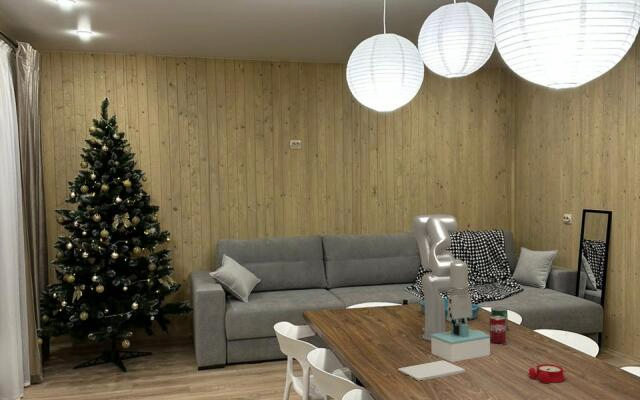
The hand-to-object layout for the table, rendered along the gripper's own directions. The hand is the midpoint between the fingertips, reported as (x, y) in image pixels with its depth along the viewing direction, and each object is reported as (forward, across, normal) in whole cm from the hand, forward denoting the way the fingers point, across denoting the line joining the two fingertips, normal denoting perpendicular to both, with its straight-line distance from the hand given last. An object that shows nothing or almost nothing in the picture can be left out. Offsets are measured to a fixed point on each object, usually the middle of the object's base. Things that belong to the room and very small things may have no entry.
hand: (459, 333), depth 246 cm
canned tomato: (+10, +44, +25) cm, 51 cm away
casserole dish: (+11, +43, +64) cm, 77 cm away
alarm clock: (+10, +9, -39) cm, 41 cm away
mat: (+10, -23, -11) cm, 27 cm away
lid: (+2, 0, 0) cm, 2 cm away
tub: (+10, 0, 0) cm, 10 cm away
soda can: (+10, +27, +7) cm, 30 cm away
